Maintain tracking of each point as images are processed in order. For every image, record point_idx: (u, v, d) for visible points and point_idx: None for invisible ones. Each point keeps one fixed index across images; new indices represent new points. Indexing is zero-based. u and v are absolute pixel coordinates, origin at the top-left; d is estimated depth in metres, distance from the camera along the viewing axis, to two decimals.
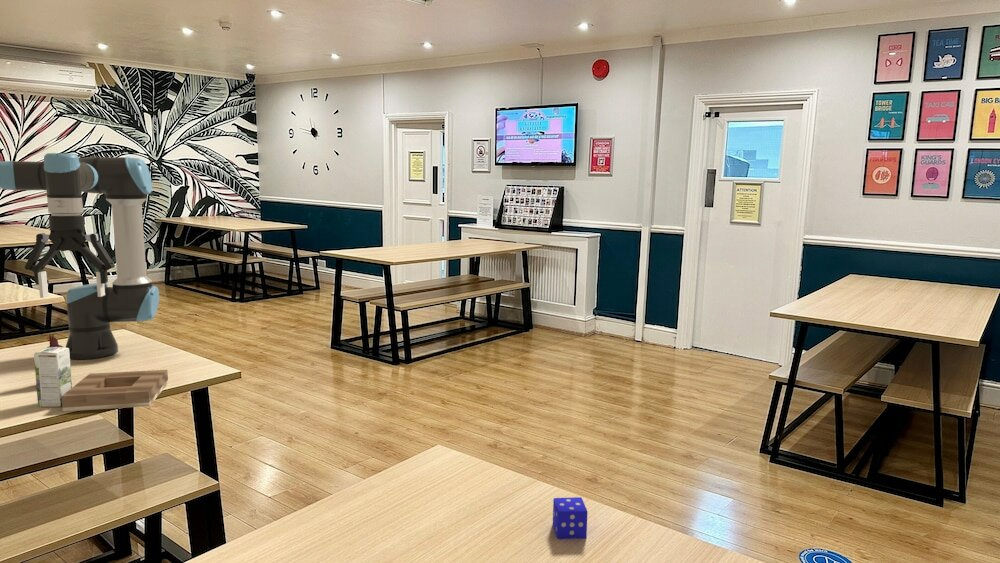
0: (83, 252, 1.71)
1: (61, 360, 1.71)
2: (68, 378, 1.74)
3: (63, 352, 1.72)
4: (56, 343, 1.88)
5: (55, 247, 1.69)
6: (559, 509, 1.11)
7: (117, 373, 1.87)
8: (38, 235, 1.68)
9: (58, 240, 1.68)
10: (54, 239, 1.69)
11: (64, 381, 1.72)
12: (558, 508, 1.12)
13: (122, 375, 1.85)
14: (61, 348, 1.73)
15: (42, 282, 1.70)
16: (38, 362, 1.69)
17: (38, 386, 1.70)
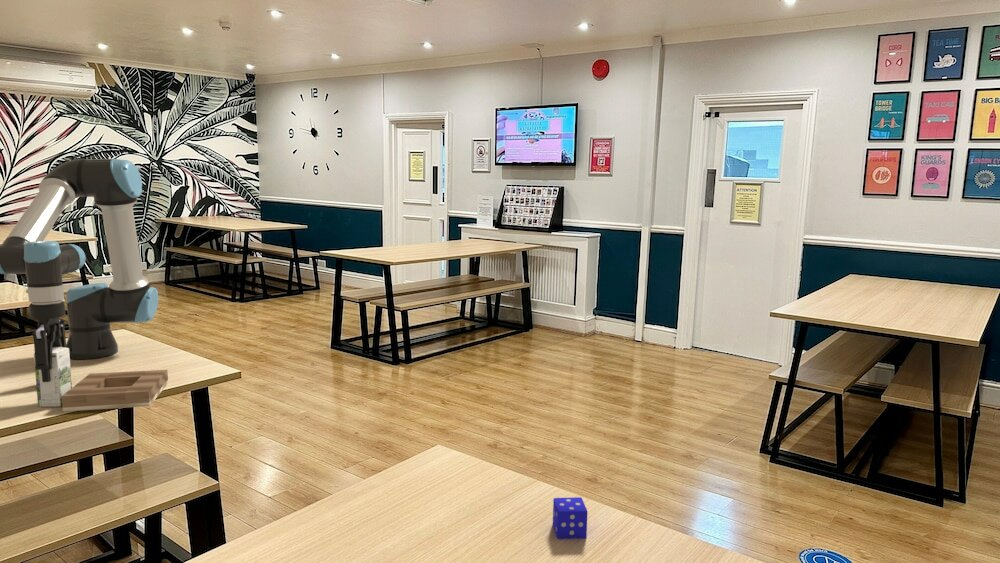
0: None
1: (61, 360, 1.71)
2: (68, 378, 1.74)
3: (63, 352, 1.72)
4: None
5: None
6: (559, 509, 1.11)
7: (117, 373, 1.87)
8: None
9: None
10: None
11: (64, 381, 1.72)
12: (558, 508, 1.12)
13: (122, 375, 1.85)
14: (61, 348, 1.73)
15: None
16: None
17: (38, 386, 1.70)
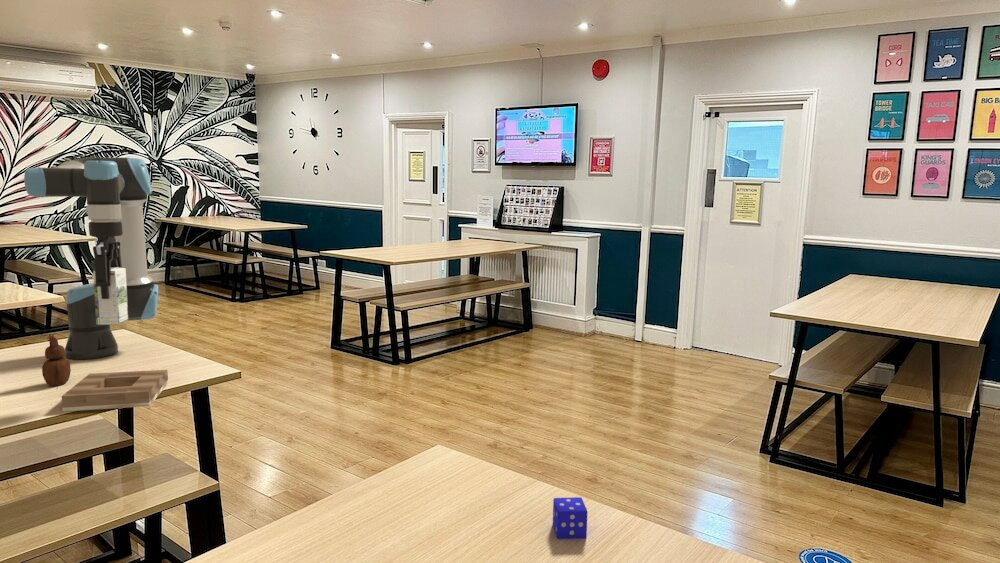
0: None
1: (118, 279, 1.74)
2: (125, 298, 1.77)
3: (121, 271, 1.75)
4: (56, 343, 1.88)
5: None
6: (559, 509, 1.11)
7: (117, 373, 1.87)
8: None
9: None
10: None
11: (121, 300, 1.75)
12: (558, 508, 1.12)
13: (122, 375, 1.85)
14: (118, 268, 1.76)
15: None
16: None
17: (97, 304, 1.73)
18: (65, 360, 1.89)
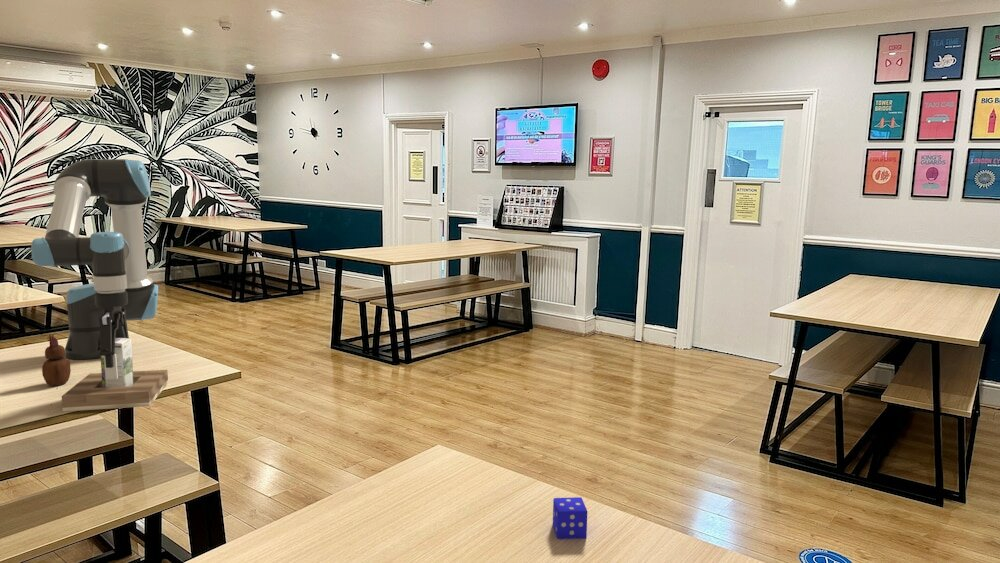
0: None
1: (125, 350, 1.77)
2: (130, 368, 1.80)
3: (127, 343, 1.78)
4: (56, 343, 1.88)
5: None
6: (559, 509, 1.11)
7: None
8: None
9: None
10: None
11: (127, 371, 1.78)
12: (558, 508, 1.12)
13: None
14: (124, 339, 1.79)
15: None
16: None
17: (103, 376, 1.76)
18: (65, 360, 1.89)
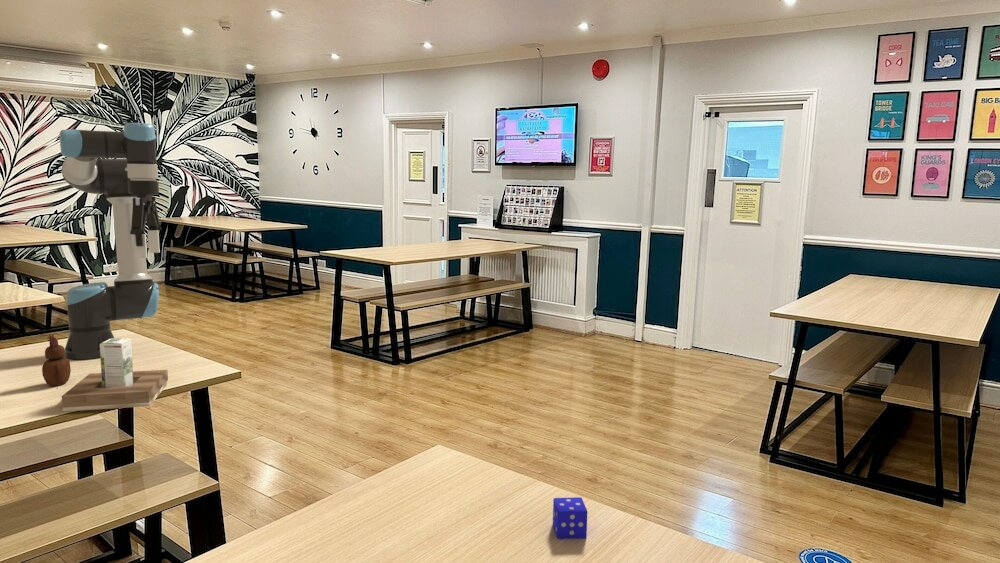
0: None
1: (125, 350, 1.77)
2: (130, 368, 1.80)
3: (127, 343, 1.78)
4: (56, 343, 1.88)
5: None
6: (559, 509, 1.11)
7: None
8: None
9: None
10: None
11: (127, 371, 1.78)
12: (558, 508, 1.12)
13: None
14: (124, 339, 1.79)
15: (149, 239, 1.94)
16: (103, 352, 1.75)
17: (103, 376, 1.76)
18: (65, 360, 1.89)
